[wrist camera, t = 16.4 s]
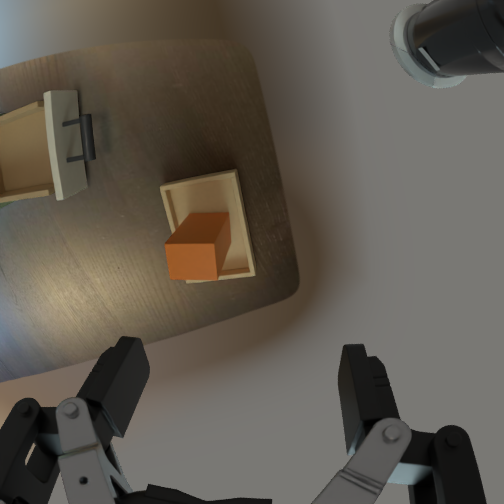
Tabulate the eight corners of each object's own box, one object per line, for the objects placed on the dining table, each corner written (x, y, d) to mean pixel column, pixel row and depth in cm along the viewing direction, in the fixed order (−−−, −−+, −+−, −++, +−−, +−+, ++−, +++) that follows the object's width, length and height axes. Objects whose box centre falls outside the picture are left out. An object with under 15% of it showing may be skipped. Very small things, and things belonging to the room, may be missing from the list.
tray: (164, 183, 38) (159, 186, 36) (237, 168, 37) (234, 171, 35) (190, 276, 43) (186, 283, 41) (256, 268, 42) (255, 275, 40)
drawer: (103, 82, 32) (78, 81, 27) (113, 184, 38) (90, 196, 32) (-3, 119, 34) (-29, 124, 29) (8, 198, 40) (-15, 210, 34)
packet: (229, 212, 38) (214, 243, 30) (231, 242, 40) (218, 280, 32) (189, 213, 39) (164, 243, 30) (192, 242, 41) (170, 279, 32)
